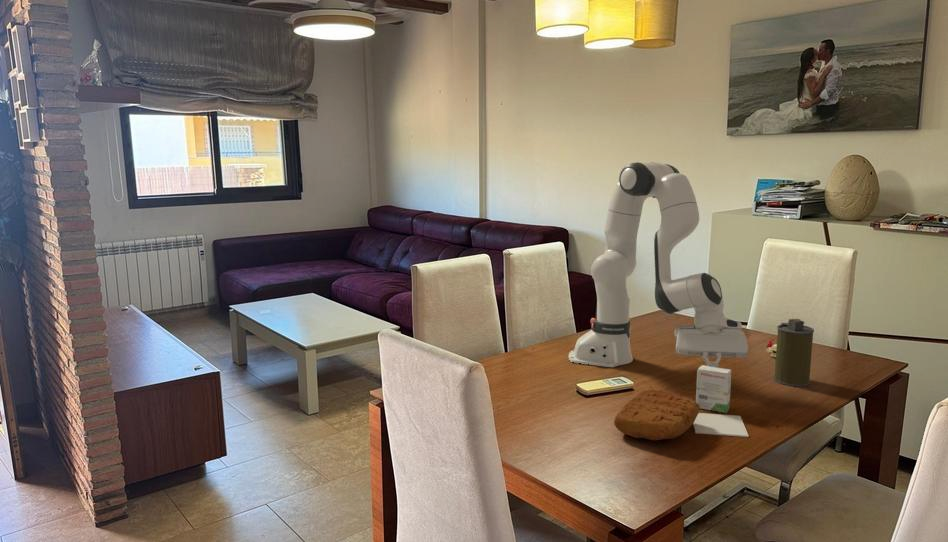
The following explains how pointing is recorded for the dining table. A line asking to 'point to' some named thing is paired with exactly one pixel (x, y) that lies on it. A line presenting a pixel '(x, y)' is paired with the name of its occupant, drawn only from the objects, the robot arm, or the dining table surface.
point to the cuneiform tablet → (657, 415)
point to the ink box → (713, 388)
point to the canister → (793, 353)
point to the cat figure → (772, 348)
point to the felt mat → (720, 425)
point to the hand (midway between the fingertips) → (712, 368)
